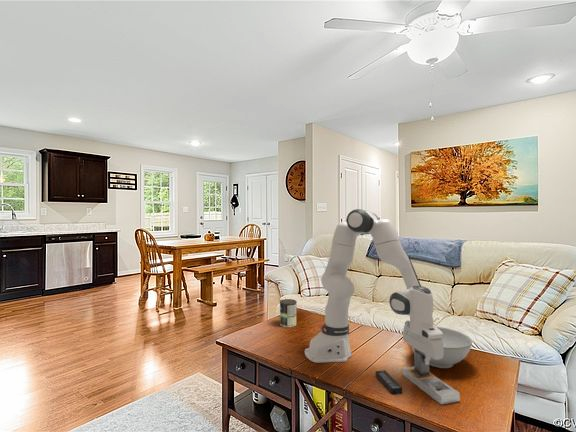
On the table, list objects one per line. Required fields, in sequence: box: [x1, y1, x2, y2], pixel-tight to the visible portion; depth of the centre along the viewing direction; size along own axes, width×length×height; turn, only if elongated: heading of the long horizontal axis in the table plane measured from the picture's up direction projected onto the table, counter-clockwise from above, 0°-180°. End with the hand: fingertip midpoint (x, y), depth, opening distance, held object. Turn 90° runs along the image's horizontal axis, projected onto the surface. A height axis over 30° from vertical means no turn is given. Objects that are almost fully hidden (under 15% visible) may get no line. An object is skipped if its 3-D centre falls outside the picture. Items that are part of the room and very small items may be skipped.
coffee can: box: [279, 298, 298, 328], centre depth 199 cm, size 10×10×14 cm
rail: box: [402, 366, 461, 406], centre depth 127 cm, size 8×22×3 cm, turn 16°
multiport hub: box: [375, 369, 403, 395], centre depth 130 cm, size 4×14×2 cm, turn 10°
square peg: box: [413, 351, 430, 375], centre depth 132 cm, size 4×4×8 cm
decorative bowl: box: [418, 325, 473, 369], centre depth 149 cm, size 27×27×12 cm
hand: (421, 361), depth 132 cm, fingers closed on square peg, 4 cm apart
